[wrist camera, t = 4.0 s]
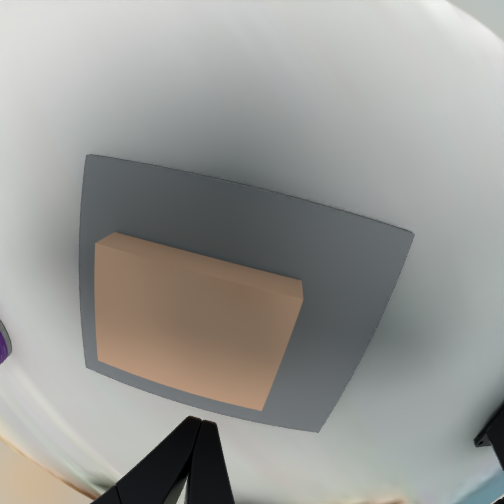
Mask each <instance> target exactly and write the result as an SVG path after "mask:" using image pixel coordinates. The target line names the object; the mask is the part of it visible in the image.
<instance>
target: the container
mask: <svg viewBox="0 0 504 504" xmlns="http://www.w3.org/2000/svg"><path fill="white" fill-rule="evenodd" d="M10 354H11V342H10V339H9V336H8V334H7V332H6V330H5V328H4V326H3V324H2V323H1V321H0V364H1V363H2V362H3V361H4V360H5V359H6V358H7V357H8V356H9V355H10Z"/></svg>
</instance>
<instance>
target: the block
mask: <svg viewBox="0 0 504 504" xmlns="http://www.w3.org/2000/svg"><path fill="white" fill-rule="evenodd" d="M94 295H95V326H96V342H97V355H98V360H99V361H101V362H103V363H106V364H108V365H111V366H113V367H116V368H118V369H121V370H123V371H126V372H129V373H131V374H134V375H137V376H140V377H142V378H145V379H148V380H151V381H154V382H157V383H160V384H163V385H166V386H169V387H172V388H175V389H178V390H182V391H185V392H188V393H192V394H195V395H199V396H202V397H206V398H210V399H213V400H217V401H221V402H225V403H229V404H233V405H237V406H241V407H246V408H250V409H255V410H259V411H262V409H263V407H264V404H265V402H266V399H267V397H268V394H269V392H270V389H271V387H272V384H273V381H274V379H275V376H276V374H277V371H278V369H279V366H280V363H281V361H282V358H283V355H284V353H285V350H286V347H287V345H288V342H289V339H290V336H291V334H292V331H293V328H294V325H295V322H296V320H297V317H298V314H299V311H300V308H301V305H302V302H303V289H302V280H298V279H294V278H290V277H286V276H282V275H278V274H274V273H270V272H266V271H262V270H258V269H254V268H250V267H246V266H242V265H238V264H234V263H231V262H227V261H223V260H219V259H215V258H211V257H207V256H204V255H200V254H196V253H192V252H188V251H185V250H181V249H177V248H173V247H169V246H166V245H162V244H158V243H154V242H151V241H147V240H143V239H140V238H136V237H132V236H128V235H125V234H121V233H117V232H114V233H112V234H110V235H108V236H107V237H105V238H103V239H102V240H100V241H98V242H96V243H95V268H94Z"/></svg>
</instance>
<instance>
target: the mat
mask: <svg viewBox="0 0 504 504" xmlns="http://www.w3.org/2000/svg"><path fill="white" fill-rule="evenodd" d="M114 232H117V233H121V234H125V235H128V236H132V237H136V238H140V239H143V240H147V241H151V242H154V243H158V244H162V245H166V246H169V247H173V248H177V249H181V250H185V251H188V252H192V253H196V254H200V255H204V256H207V257H211V258H215V259H219V260H223V261H227V262H231V263H234V264H238V265H242V266H246V267H250V268H254V269H258V270H262V271H266V272H270V273H274V274H278V275H282V276H286V277H290V278H294V279H298V280H302V289H303V302H302V305H301V308H300V311H299V314H298V317H297V320H296V322H295V325H294V328H293V331H292V334H291V336H290V339H289V342H288V345H287V347H286V350H285V353H284V355H283V358H282V361H281V363H280V366H279V369H278V371H277V374H276V376H275V379H274V381H273V384H272V387H271V389H270V392H269V394H268V397H267V399H266V402H265V404H264V407H263V409H262V411H259V410H255V409H250V408H246V407H241V406H237V405H233V404H229V403H225V402H221V401H217V400H213V399H210V398H206V397H202V396H199V395H195V394H192V393H188V392H185V391H182V390H178V389H175V388H172V387H169V386H166V385H163V384H160V383H157V382H154V381H151V380H148V379H145V378H142V377H140V376H137V375H134V374H131V373H129V372H126V371H123V370H121V369H118V368H116V367H113V366H111V365H108V364H106V363H103V362H101V361H99V360H98V355H97V342H96V326H95V295H94V268H95V243H96V242H98V241H100V240H102V239H103V238H105V237H107V236H108V235H110V234H112V233H114ZM414 235H415V234H413V233H412V232H410V231H407V230H404V229H401V228H398V227H395V226H392V225H389V224H386V223H382V222H379V221H376V220H373V219H369V218H366V217H363V216H360V215H356V214H353V213H349V212H346V211H343V210H339V209H336V208H332V207H329V206H325V205H321V204H318V203H314V202H311V201H307V200H303V199H299V198H296V197H292V196H288V195H284V194H280V193H276V192H272V191H268V190H264V189H260V188H256V187H252V186H248V185H244V184H240V183H235V182H231V181H227V180H222V179H218V178H213V177H209V176H204V175H199V174H195V173H190V172H185V171H180V170H175V169H170V168H165V167H160V166H155V165H150V164H144V163H139V162H133V161H128V160H122V159H116V158H110V157H104V156H98V155H86V159H85V167H84V176H83V186H82V198H81V212H80V232H79V291H80V311H81V325H82V337H83V347H84V356H85V364H86V368H88V369H91V370H93V371H95V372H98V373H100V374H102V375H105V376H107V377H109V378H112V379H114V380H117V381H119V382H122V383H125V384H127V385H130V386H132V387H135V388H138V389H141V390H143V391H146V392H149V393H152V394H155V395H158V396H161V397H164V398H167V399H170V400H173V401H176V402H179V403H183V404H186V405H189V406H193V407H196V408H200V409H203V410H207V411H211V412H215V413H218V414H222V415H226V416H230V417H235V418H239V419H243V420H248V421H253V422H257V423H262V424H267V425H273V426H278V427H284V428H290V429H296V430H302V431H309V432H317V433H319V431H320V429H321V428H322V426H323V425H324V423H325V422H326V420H327V418H328V417H329V415H330V413H331V412H332V410H333V408H334V407H335V405H336V403H337V402H338V400H339V398H340V397H341V395H342V393H343V391H344V390H345V388H346V386H347V384H348V382H349V381H350V379H351V377H352V375H353V373H354V371H355V370H356V368H357V366H358V364H359V362H360V360H361V358H362V356H363V354H364V352H365V350H366V348H367V346H368V344H369V342H370V340H371V338H372V336H373V334H374V332H375V330H376V328H377V326H378V324H379V321H380V319H381V317H382V315H383V313H384V310H385V308H386V306H387V304H388V301H389V299H390V297H391V294H392V292H393V290H394V287H395V285H396V283H397V280H398V278H399V275H400V273H401V270H402V268H403V265H404V262H405V260H406V257H407V254H408V252H409V249H410V246H411V244H412V241H413V238H414Z"/></svg>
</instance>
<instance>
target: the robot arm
mask: <svg viewBox="0 0 504 504" xmlns="http://www.w3.org/2000/svg"><path fill="white" fill-rule="evenodd" d="M474 444H475V446H476V447H482V446H489V445H492V447H493V450H494V452H495V454H496V456H497V458H498V460H499V463H500V465H501V467H502V470H503V471H504V406H503V408H502V409H501V410H500V411H499V413H498V414H497V415H496V416H495V418H494V419H493V420H492V421H491V423H490V424H489V425H488V426H487V427H486V428H485V430H484V431H483V432H482V433H481V434H480V435H479V436H478V438H477V439H476V440H475V441H474ZM187 477H188V478H187ZM186 480H187V484H186V492H185V501H184V504H235V502H234V498H233V494H232V490H231V486H230V481H229V477H228V473H227V469H226V464H225V460H224V456H223V451H222V447H221V442H220V437H219V432H218V428H217V424H216V423H215V422H212V421H208V420H203V421H202V420H201V419H200V418H197V417H193V416H188V417H187V418H186V419H185V420H183V421H182V422H181V423H180V424H179V425H178V426H177V427H176V428H175V429H174V430H173V431H172V432H171V433H170V434H169V435H168V436H167V437H166V438H165V439H164V440H163V441H162V442H161V443H160V444H159V445H158V446H156V447H155V448H154V449H153V450H152V451H151V452H150V453H149V454H148V455H147V456H146V457H145V458H144V459H142V460H141V461H140V462H139V463H138V464H137V465H136V466H135V467H134V468H133V469H131V470H130V471H129V472H128V473H127V474H126V475H125V476H124V477H122V478H121V479H120V480H119V481H118V482H117V483H116V486H115V485H113V486H112V487H111V488H110V489H108V490H107V491H106V492H105V493H104V494H102V495H101V496H100V497H99V498H97V499H96V500H95V501H93V502H92V503H90V504H176V503H177V501H178V498H179V496H180V494H181V492H182V489H183V487H184V485H185V482H186ZM494 504H504V497H503V498H502V499H499V500H498V501H496V502H495V503H494Z"/></svg>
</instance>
